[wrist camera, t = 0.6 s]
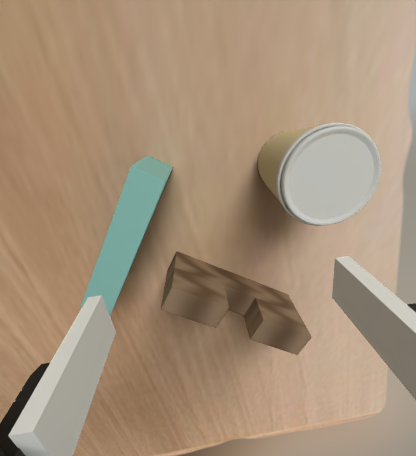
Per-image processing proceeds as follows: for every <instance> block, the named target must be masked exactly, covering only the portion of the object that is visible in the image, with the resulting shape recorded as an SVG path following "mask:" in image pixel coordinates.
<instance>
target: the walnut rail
mask: <svg viewBox="0 0 416 456" xmlns="http://www.w3.org/2000/svg"><path fill="white" fill-rule="evenodd" d="M161 310H163V311H166V312H169V313H172V314H175V315H178V316H181V317H184V318H187V319H190V320H193V321H196V322H199V323H202V324H205V325H208V326H211V327H214V328H217V326H218V324H219V323H220V321H221V320H222V318H223V316H224V315H225V313H226V311H227V310H230V311H233V312H236V313H239V314H242V315H244V318H245V322H246V325H247V329H248V333H249V337H250V339H251V340H254V341H257V342H260V343H263V344H266V345H269V346H272V347H275V348H278V349H281V350H284V351H287V352H290V353H293V354H296V355H298V354H299V352H300V351H301V350H302V349H303V347H304V346H305V345H306V344H307V342H308V341H309V340H310V339H311V335H310V333H309V331H308V330H307V328H306V326H305V324H304V322H303V321H302V319H301V317H300V315H299V313H298V312H297V310H296V308H295V306H294V304H293V303H292V301H291V299H290V297H289V295H287V294H285V293H282V292H280V291H277V290H275V289H272V288H269V287H267V286H264V285H262V284H259V283H257V282H254V281H251V280H249V279H246V278H244V277H241V276H239V275H236V274H233V273H231V272H228V271H226V270H223V269H221V268H218V267H215V266H213V265H210V264H208V263H205V262H203V261H200V260H197V259H195V258H192V257H190V256H187V255H185V254H182V253H179V252H176V254H175V256H174V258H173V260H172V262H171V264H170V266H169V268H168V272H167V277H166V283H165V289H164V294H163V300H162V306H161Z"/></svg>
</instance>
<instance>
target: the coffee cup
mask: <svg viewBox="0 0 416 456" xmlns="http://www.w3.org/2000/svg"><path fill="white" fill-rule="evenodd" d="M258 170H259V174H260V176H261V178H262V180H263V181H264V183H265V184H266V185H267V187H268V188H269V189H270V190H271V192H272V193H273V194H274V195H275V196H276V198H277V199H278V200H279V201H280V203H281V204H282V206H283V207H284V209H285V210H286V211H287V213H288V214H289V215H291V216H292V217H293V218H295V219H296V220H298V221H300V222H302V223H305V224H309V225H317V226H320V225H330V224H335V223H338V222H341V221H344V220H346V219H348V218H350V217H351V216H353V215H354V214H356V213H357V212H358V211H359V210H360V209H362V208H363V207H364V206H365V204H366V203H367V202H368V201H369V199H370V198H371V197H372V195H373V193H374V191H375V189H376V187H377V184H378V181H379V178H380V172H381V160H380V155H379V152H378V149H377V147H376V145H375V144H374V142H373V141H372V139H371V138H370V137H369V135H368V134H366V133H365V132H364V131H363V130H361V129H360V128H358V127H356V126H353V125H350V124H346V123H329V124H324V125H320V126H316V127H308V128H301V129H294V130H288V131H283V132H280V133H278V134H276V135H274V136H272V137H271V138H270V139H269V140H268V141H267V142H266V143H265V144H264V146H263V147H262V149H261V151H260V154H259V158H258Z"/></svg>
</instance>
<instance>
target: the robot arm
mask: <svg viewBox="0 0 416 456" xmlns="http://www.w3.org/2000/svg"><path fill="white" fill-rule="evenodd" d="M332 298H333V299H334V300H335V302H336V303H337V304H338V305H339V306H340V308H341V309H342V310H343V311H344V313H345V314H346V315H347V316H348V317H349V319H350V320H351V321H352V322H353V324H354V325H355V326H356V327H357V328H358V330H359V331H360V332H361V333H362V335H363V336H364V337H365V338H366V340H367V341H368V342H369V343H370V344H371V346H372V347H373V348H374V349H375V351H376V352H377V353H378V354H379V355H380V357H381V358H382V359H383V360H384V362H385V363H386V364H387V365H388V367H389V368H390V369H391V370H392V371H393V373H394V374H395V375H396V376H397V378H399V380H400V381H401V382H402V384H403V385H404V386H405V387H406V389H407V390H408V391H409V392H410V394H411V395H412V396H413V397H414V398H415V400H416V304H408V305H406V304H405V303H404V302H403V301H402V300H400V299H399V298H398V297H397V296H396V295H394V294H393V293H392V292H391V291H390V290H389V289H387V288H386V287H385V286H384V285H383V284H381V283H380V282H379V281H378V280H377V279H375V278H374V277H373V276H372V275H371V274H369V273H368V272H367V271H366V270H365V269H364V268H362V267H361V266H360V265H359V264H358V263H356V262H355V261H354V260H353V259H352V258H350V257H349V256H345V257H339V258H335V266H334V280H333V294H332ZM115 333H116V331H115V329H114V326H113V323H112V321H111V318H110V316H109V313H108V310H107V308H106V305H105V302H104V300H103V297H102V295H100V296H93V297H88V298H87V300H86V302H85V303H84V305H83V307H82V309H81V310H80V312H79V314H78V316H77V317H76V319H75V321H74V322H73V324H72V326H71V328H70V329H69V331H68V333H67V335H66V336H65V338H64V340H63V342H62V343H61V345H60V347H59V348H58V350H57V352H56V354H55V355H54V357H53V359H52V361H51V362H50V363H46V364H41V365H40V366H39V367H38V368H37V369H36V370H35V371H34V372H33V374H32V375H31V376H30V377H29V379H28V380H27V382H26V383H25V385H24V387H23V388H22V391H20V393H19V395H18V396H17V398H16V401H15V402H14V403H13V404H12V406H11V407H10V409H9V410H8V412H7V414H6V415H5V417H4V418H3V420H2V422H1V423H0V456H73V454H74V451H75V448H76V445H77V443H78V440H79V437H80V434H81V431H82V428H83V425H84V422H85V420H86V417H87V414H88V411H89V408H90V405H91V402H92V399H93V397H94V394H95V391H96V388H97V385H98V382H99V379H100V376H101V374H102V371H103V368H104V365H105V362H106V359H107V356H108V354H109V351H110V348H111V345H112V342H113V339H114V336H115Z"/></svg>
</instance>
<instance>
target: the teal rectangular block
mask: <svg viewBox="0 0 416 456" xmlns="http://www.w3.org/2000/svg"><path fill="white" fill-rule="evenodd" d="M172 168H173V167H172V166H170V165H167V164H165V163H163V162H161V161H159V160H157V159H155V158H152V157H150V156H148V155H147V156H146V157H144V158H143V159H141V160H140V161H138V162H137V163H135V164H134V165H132V166H131V168H130V171H129V174H128V177H127V179H126V182H125V185H124V188H123V191H122V193H121V196H120V199H119V202H118V205H117V207H116V210H115V213H114V216H113V218H112V221H111V224H110V227H109V230H108V232H107V235H106V238H105V241H104V244H103V246H102V249H101V252H100V255H99V257H98V260H97V263H96V266H95V269H94V271H93V274H92V277H91V280H90V283H89V285H88V288H87V291H86V294H85V296H84V299H83V302H82V305H81V307H83V305H84V303H85V302H86V300H87V298H88V297H93V296H100V295H102V297H103V300H104V302H105V305H106V308H107V310H108V313H109V316H110V315H111V312H112V310H113V308H114V306H115V303H116V301H117V299H118V296H119V294H120V292H121V290H122V287H123V285H124V283H125V280H126V278H127V276H128V274H129V271H130V269H131V266H132V264H133V262H134V259H135V257H136V254H137V252H138V250H139V247H140V245H141V242H142V239H143V237H144V234H145V232H146V229H147V227H148V225H149V222H150V220H151V218H152V216H153V213H154V211H155V209H156V207H157V204H158V202H159V199H160V197H161V195H162V192H163V190H164V187H165V185H166V183H167V180H168V178H169V175H170V173H171V171H172Z"/></svg>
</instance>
